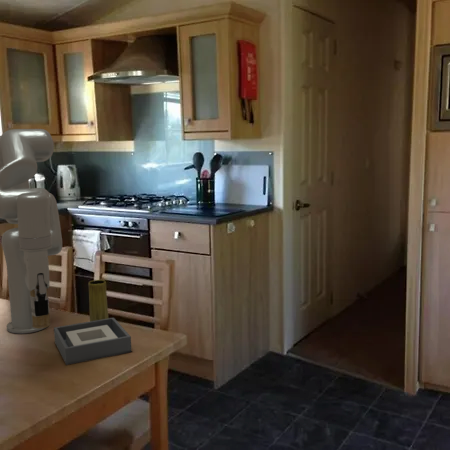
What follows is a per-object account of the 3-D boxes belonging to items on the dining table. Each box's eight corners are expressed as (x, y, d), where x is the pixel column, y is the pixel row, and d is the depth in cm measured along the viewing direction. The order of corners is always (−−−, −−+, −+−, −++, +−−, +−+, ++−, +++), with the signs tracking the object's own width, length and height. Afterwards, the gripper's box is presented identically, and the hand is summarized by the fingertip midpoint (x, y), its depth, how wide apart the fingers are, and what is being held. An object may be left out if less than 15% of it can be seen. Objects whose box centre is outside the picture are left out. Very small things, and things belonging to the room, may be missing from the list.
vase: (111, 322, 173) (109, 279, 170) (105, 329, 167) (103, 284, 164) (93, 322, 173) (90, 279, 171) (86, 329, 167) (84, 284, 165)
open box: (54, 342, 157) (53, 327, 156) (114, 331, 165) (113, 317, 164) (66, 365, 142) (65, 348, 141) (131, 352, 149) (130, 336, 148)
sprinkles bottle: (52, 326, 138) (49, 276, 136) (34, 330, 136) (30, 279, 133) (47, 321, 142) (44, 271, 139) (30, 324, 140) (26, 274, 137)
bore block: (66, 341, 156) (65, 331, 155) (107, 334, 161) (107, 324, 160) (74, 356, 145) (74, 346, 145) (118, 348, 150) (118, 338, 150)
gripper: (15, 237, 140) (21, 304, 144) (23, 251, 125) (29, 325, 129) (45, 234, 143) (50, 299, 147) (57, 248, 129) (61, 320, 132)
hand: (40, 311), depth 138 cm, fingers closed on sprinkles bottle, 4 cm apart
